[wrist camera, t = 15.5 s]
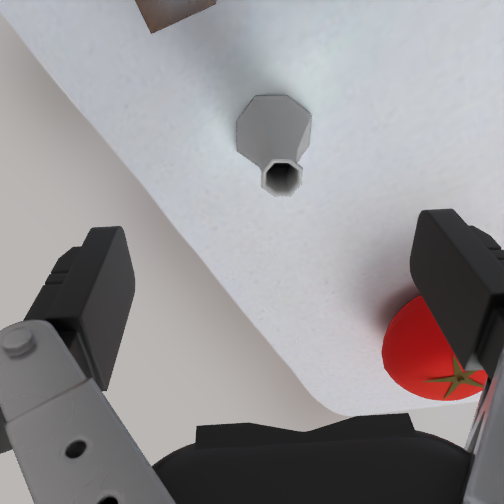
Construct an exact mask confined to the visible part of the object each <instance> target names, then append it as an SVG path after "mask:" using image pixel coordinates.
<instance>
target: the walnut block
mask: <svg viewBox="0 0 504 504" xmlns="http://www.w3.org/2000/svg"><path fill="white" fill-rule="evenodd" d="M135 1H136V3H137V5H138V7H139V10H140V12H141V14H142V16H143V18H144V20H145V22H146V24H147V26H148V28H149V30H150V32H151V34H152V33H155V32H157V31H159V30H161V29H163V28H165V27H167V26H170V25H172V24H174V23H176V22H178V21H180V20H182V19H185V18H187V17H189V16H191V15H193V14H195V13H197V12H200V11H202V10H204V9H206V8H208V7H210V6H212V5H215V4H216V2H217V0H135Z"/></svg>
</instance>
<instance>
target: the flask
mask: <svg viewBox="0 0 504 504" xmlns="http://www.w3.org/2000/svg"><path fill="white" fill-rule="evenodd" d="M311 119H312V115H311V114H310V113H309V112H307V111H306V110H305V109H304V108H302V107H301V106H300V105H299V104H298V103H296V102H295V101H294V100H293V99H291V98H290V97H289V96H255V97H254V99H253V100H252V101H251V103H250V104H249V105H248V107H247V108H246V109H245V111H244V112H243V113H242V115H241V116H240V117H239V119H238V120H237V152H239V153H240V154H242V155H243V156H244V157H246V158H247V159H249V160H250V161H251V162H253V163H254V164H256V165H257V166H258V167H259V168H260V169H261V171H262V175H261V187H262V188H263V189H264V190H266V191H267V192H269V193H270V194H272V195H273V196H292V194H293V193H294V192H295V191H296V190H297V189H298V188H299V187H300V185H301V184H302V172H303V167H302V166H300V165H299V164H297V163H298V161H299V159H300V158H301V156H302V155H303V153H304V152H305V151H306V149H307V148H308V146H309V143H310V131H311Z"/></svg>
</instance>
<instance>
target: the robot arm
mask: <svg viewBox="0 0 504 504" xmlns="http://www.w3.org/2000/svg"><path fill="white" fill-rule="evenodd" d="M410 272H411V276H412V279H413V281H414V283H415V285H416V287H417V288H418V290H419V292H420V294H421V295H422V297H423V299H424V301H425V302H426V304H427V306H428V308H429V310H430V311H431V313H432V315H433V317H434V318H435V320H436V322H437V324H438V325H439V327H440V329H441V331H442V333H443V334H444V336H445V338H446V340H447V341H448V343H449V345H450V347H451V349H452V350H453V352H454V354H455V356H456V357H457V359H458V361H459V363H460V364H461V366H462V368H463V370H464V371H473V370H485V372H486V374H487V375H488V377H487V380H486V382H485V385H484V388H483V391H482V394H481V397H480V400H479V403H478V407H477V410H476V413H475V416H474V419H473V422H472V426H471V429H470V432H469V435H468V438H467V442H466V444H465V447H464V449H463V448H461V447H460V446H458V445H455V444H454V443H452V442H450V441H448V440H445V439H443V438H440V437H438V436H435V435H432V434H428V433H425V432H421V431H416V430H415V429H414V427H413V424H412V422H411V419H410V416H409V414H408V413H402V414H385V415H368V416H356V417H353V418H349V419H346V420H343V421H340V422H337V423H334V424H331V425H327V426H324V427H321V428H318V429H315V430H312V431H307V432H299V431H293V430H287V429H281V428H276V427H270V426H264V425H259V424H253V423H236V424H221V425H220V424H219V425H203V426H197V430H196V442H195V443H194V444H190V445H187V446H185V447H183V448H181V449H178V450H176V451H174V452H172V453H171V454H169V455H167V456H165V457H164V458H162V459H161V460H160V461H158V462H157V463H155V464H154V465H153V466H151V465H150V464H149V462H148V461H147V459H146V458H145V456H144V455H143V453H142V452H141V450H140V449H139V447H138V446H137V444H136V443H135V441H134V440H133V438H132V437H131V435H130V434H129V432H128V430H127V429H126V427H125V426H124V424H123V423H122V421H121V420H120V418H119V417H118V416H117V414H116V412H115V411H114V409H113V408H112V407H111V405H110V403H109V402H108V400H107V399H106V397H105V396H104V395H103V393H102V391H107V389H108V385H109V382H110V378H111V375H112V371H113V367H114V364H115V360H116V357H117V354H118V350H119V347H120V343H121V340H122V336H123V333H124V329H125V325H126V322H127V319H128V315H129V311H130V308H131V304H132V301H133V297H134V293H135V276H134V271H133V266H132V262H131V258H130V254H129V250H128V246H127V241H126V237H125V233H124V230H123V228H122V227H121V226H112V227H95V228H91V229H90V231H89V233H88V235H87V237H86V239H85V241H84V243H83V245H82V246H81V247H72V248H71V249H70V250H69V251H67V252H66V253H65V254H64V255H62V256H61V257H60V258H59V259H58V261H57V262H56V264H55V266H54V268H53V270H52V271H51V274H50V275H49V276H48V278H47V280H46V282H45V285H44V286H43V287H42V289H41V290H40V292H39V294H38V296H37V298H36V299H35V301H34V303H33V305H32V306H31V308H30V310H29V312H28V313H27V315H26V317H25V318H24V320H23V321H21V322H18V323H15V324H12V325H10V326H8V327H6V328H4V329H2V330H1V331H0V453H3V452H6V451H9V450H11V449H13V451H14V453H15V456H16V458H17V461H18V463H19V466H20V468H21V471H22V473H23V476H24V478H25V481H26V484H27V486H28V489H29V491H30V494H31V496H32V499H33V501H34V504H504V250H501V247H500V246H499V245H498V244H497V242H496V241H495V240H494V239H493V238H492V237H491V236H490V235H488V234H486V233H485V232H483V231H481V230H479V229H478V228H476V227H474V226H468V225H467V224H466V223H465V222H464V221H463V219H462V218H461V217H460V216H459V215H458V214H457V213H456V212H455V211H454V210H453V209H436V210H423V211H421V213H420V215H419V217H418V221H417V226H416V231H415V236H414V241H413V246H412V251H411V256H410Z"/></svg>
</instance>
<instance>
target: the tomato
mask: <svg viewBox="0 0 504 504" xmlns="http://www.w3.org/2000/svg"><path fill="white" fill-rule="evenodd" d="M382 358H383V364H384V368H385V370H386V371H387V372H388V374H389V375H390V376H391V378H392V379H393V380H394V381H395V382H396V383H397V384H399V385H400V386H401V387H403V388H404V389H406V390H407V391H409V392H411V393H413V394H416V395H418V396H421V397H424V398H427V399H432V400H441V401H452V400H459V399H463V398H466V397H470V396H472V395H474V394H476V393H478V392H480V391H482V390H483V388H484V385H485V382H486V380H487V377H488V375H487V374H486V372H485V370H473V371H464V370H463V368H462V366H461V364H460V363H459V361H458V359H457V357H456V356H455V354H454V352H453V350H452V349H451V347H450V345H449V343H448V341H447V340H446V338H445V336H444V334H443V333H442V331H441V329H440V327H439V325H438V324H437V322H436V320H435V318H434V317H433V315H432V313H431V311H430V310H429V308H428V306H427V304H426V302H425V301H424V299H423V297H422V295H420V296H418V297H416V298H414V299H413V300H411V301H410V302H408V303H407V304H406V305H405V306H403V307H402V308H401V309H400V311H399V312H398V313H397V314H396V315H395V316H394V317H393V319H392V321H391V322H390V324H389V326H388V329H387V331H386V333H385V336H384V340H383V346H382Z"/></svg>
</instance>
